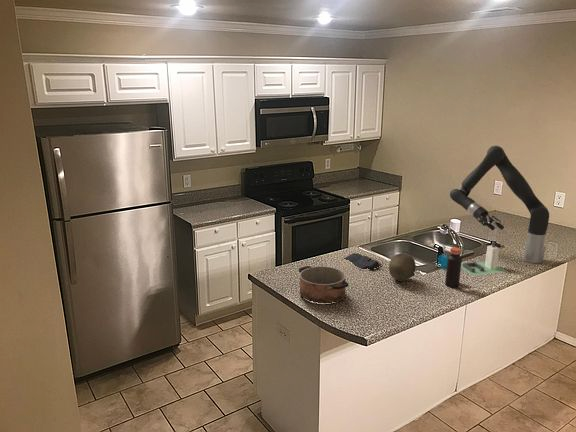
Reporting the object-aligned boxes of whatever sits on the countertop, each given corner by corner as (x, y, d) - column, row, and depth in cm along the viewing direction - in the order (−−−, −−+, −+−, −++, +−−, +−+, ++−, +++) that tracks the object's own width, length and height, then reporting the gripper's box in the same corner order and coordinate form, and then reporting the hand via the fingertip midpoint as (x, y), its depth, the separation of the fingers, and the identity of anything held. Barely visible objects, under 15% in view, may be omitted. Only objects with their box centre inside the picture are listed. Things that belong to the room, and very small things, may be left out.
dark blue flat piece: (359, 256, 278) (360, 248, 276) (384, 267, 260) (385, 259, 258) (339, 260, 270) (340, 253, 269) (364, 273, 252) (364, 265, 251)
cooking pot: (360, 299, 220) (361, 278, 217) (326, 313, 207) (327, 291, 204) (318, 279, 243) (318, 260, 240) (285, 291, 229) (285, 271, 227)
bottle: (457, 289, 230) (461, 252, 225) (443, 286, 234) (447, 249, 228) (460, 284, 236) (464, 248, 230) (446, 281, 239) (450, 245, 234)
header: (472, 264, 260) (472, 260, 259) (484, 271, 250) (484, 267, 249) (460, 265, 258) (460, 261, 258) (471, 272, 248) (472, 268, 248)
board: (489, 263, 264) (489, 261, 264) (507, 273, 249) (508, 271, 249) (455, 266, 260) (455, 264, 259) (471, 277, 245) (472, 275, 244)
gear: (442, 270, 250) (436, 253, 255) (435, 274, 255) (430, 258, 260) (458, 270, 254) (453, 254, 259) (452, 274, 259) (446, 258, 264)
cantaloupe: (382, 277, 245) (383, 251, 240) (404, 274, 249) (406, 248, 245) (397, 288, 232) (399, 260, 228) (420, 284, 237) (422, 257, 233)
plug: (491, 265, 258) (494, 240, 254) (497, 269, 252) (501, 243, 248) (484, 265, 257) (487, 240, 253) (491, 269, 252) (494, 244, 247)
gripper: (473, 206, 259) (494, 224, 248) (488, 206, 267) (509, 223, 256) (466, 217, 263) (487, 234, 252) (481, 216, 270) (502, 233, 260)
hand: (498, 228), depth 254 cm, fingers open, 8 cm apart
